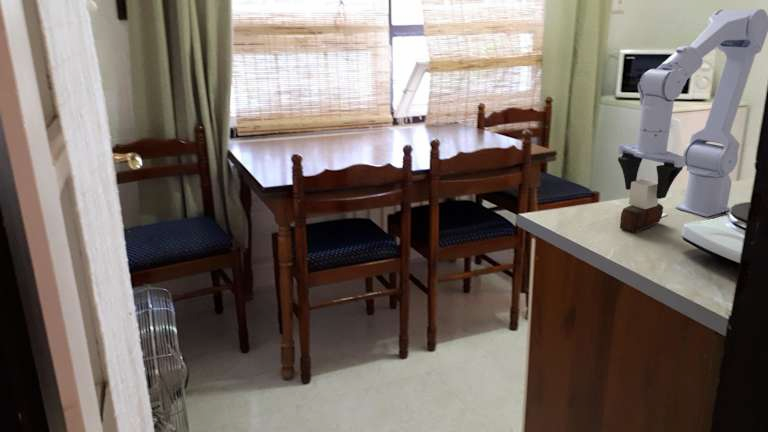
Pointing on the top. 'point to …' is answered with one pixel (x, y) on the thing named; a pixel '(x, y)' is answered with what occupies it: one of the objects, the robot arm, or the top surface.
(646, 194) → the cream block
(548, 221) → the top surface
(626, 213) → the brick
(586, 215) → the top surface
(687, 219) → the top surface
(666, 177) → the robot arm
